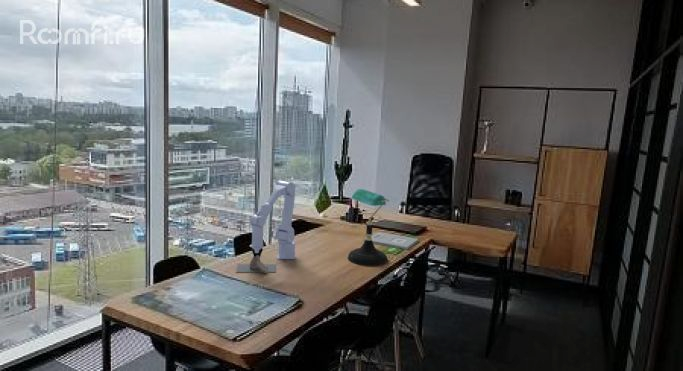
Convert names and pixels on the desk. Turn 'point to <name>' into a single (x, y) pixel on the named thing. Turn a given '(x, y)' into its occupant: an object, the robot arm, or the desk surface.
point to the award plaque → (393, 240)
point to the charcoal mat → (247, 269)
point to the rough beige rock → (258, 264)
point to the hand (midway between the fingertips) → (257, 262)
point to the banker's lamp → (368, 233)
